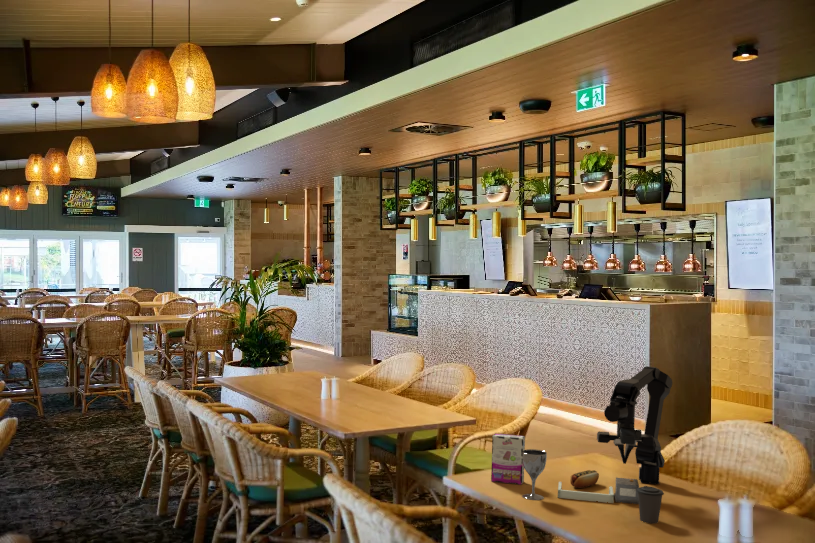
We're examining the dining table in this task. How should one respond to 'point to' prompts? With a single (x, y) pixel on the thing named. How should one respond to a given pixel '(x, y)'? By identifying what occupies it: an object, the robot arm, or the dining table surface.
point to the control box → (626, 490)
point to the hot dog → (584, 479)
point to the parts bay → (586, 495)
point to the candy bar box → (507, 459)
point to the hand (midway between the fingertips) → (624, 463)
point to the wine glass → (534, 468)
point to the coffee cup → (649, 503)
